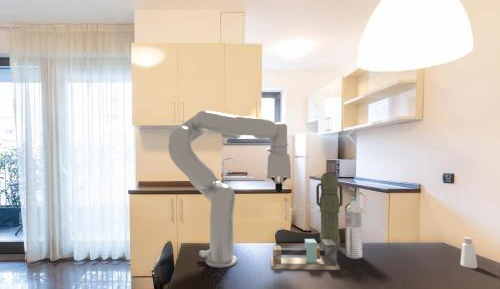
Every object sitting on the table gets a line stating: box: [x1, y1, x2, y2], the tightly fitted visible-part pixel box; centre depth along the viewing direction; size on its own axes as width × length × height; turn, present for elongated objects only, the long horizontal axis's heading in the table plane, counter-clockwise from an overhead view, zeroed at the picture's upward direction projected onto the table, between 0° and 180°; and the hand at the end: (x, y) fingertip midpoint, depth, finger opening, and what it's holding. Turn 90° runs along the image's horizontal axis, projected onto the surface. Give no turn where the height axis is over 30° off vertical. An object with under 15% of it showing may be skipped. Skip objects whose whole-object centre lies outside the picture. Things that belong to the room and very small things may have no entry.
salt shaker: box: [459, 236, 478, 269], centre depth 107 cm, size 5×5×11 cm
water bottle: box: [344, 197, 363, 260], centre depth 117 cm, size 7×7×25 cm
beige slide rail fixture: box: [269, 239, 341, 271], centre depth 108 cm, size 26×9×9 cm, turn 88°
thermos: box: [315, 172, 344, 253], centre depth 126 cm, size 9×12×35 cm
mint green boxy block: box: [304, 238, 318, 262], centre depth 108 cm, size 4×5×8 cm
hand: (278, 192), depth 121 cm, fingers closed
